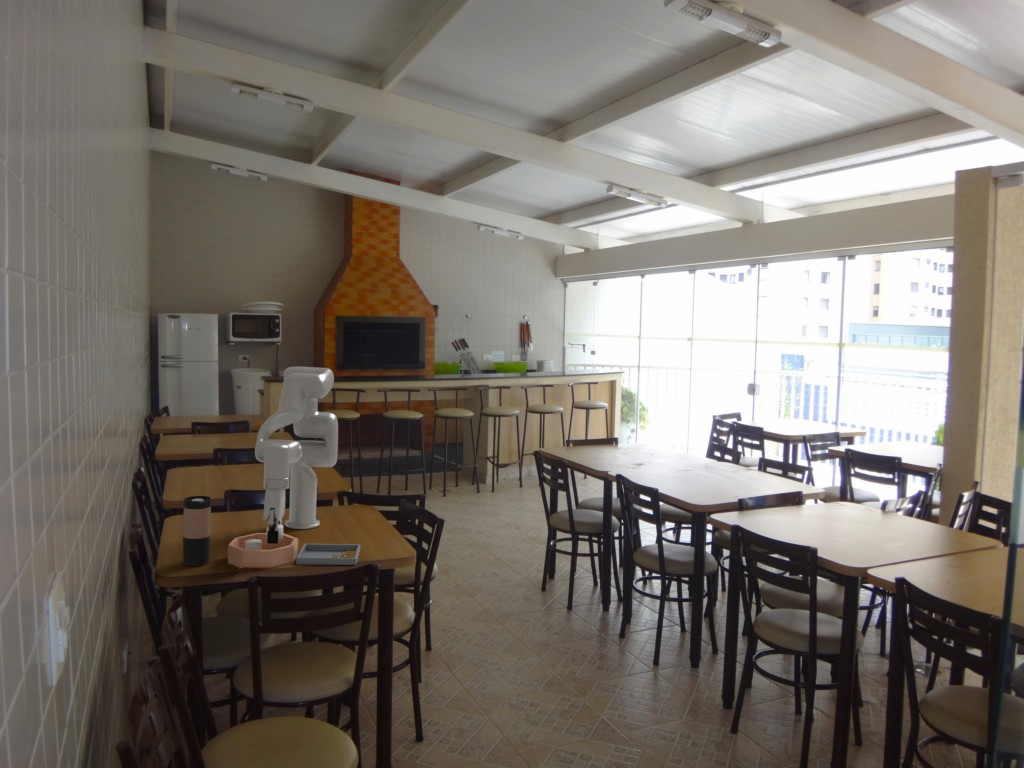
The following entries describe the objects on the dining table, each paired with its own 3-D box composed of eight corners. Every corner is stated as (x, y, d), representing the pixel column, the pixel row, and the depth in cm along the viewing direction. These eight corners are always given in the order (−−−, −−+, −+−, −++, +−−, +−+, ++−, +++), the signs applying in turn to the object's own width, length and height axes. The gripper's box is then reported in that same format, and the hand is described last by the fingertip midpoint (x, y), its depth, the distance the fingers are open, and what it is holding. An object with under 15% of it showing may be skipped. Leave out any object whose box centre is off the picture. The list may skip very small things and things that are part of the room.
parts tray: (304, 552, 235) (304, 543, 235) (360, 552, 237) (360, 544, 237) (296, 566, 220) (296, 557, 220) (355, 567, 222) (356, 558, 222)
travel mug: (187, 559, 222) (189, 495, 221) (213, 559, 223) (214, 496, 222) (178, 566, 215) (179, 500, 214) (204, 567, 215) (206, 501, 214)
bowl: (239, 550, 234) (239, 532, 233) (300, 551, 236) (301, 533, 236) (222, 569, 214) (223, 550, 214) (289, 570, 217) (290, 551, 216)
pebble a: (246, 554, 227) (247, 539, 227) (263, 554, 228) (263, 539, 227) (243, 559, 222) (243, 543, 222) (259, 559, 223) (260, 543, 222)
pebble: (267, 539, 227) (268, 523, 227) (284, 539, 228) (284, 523, 228) (264, 543, 222) (265, 527, 222) (281, 543, 223) (281, 527, 223)
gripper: (269, 477, 232) (267, 533, 233) (257, 488, 215) (255, 548, 216) (293, 478, 233) (291, 533, 234) (283, 489, 216) (281, 548, 217)
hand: (274, 540), depth 225 cm, fingers closed on pebble, 4 cm apart
